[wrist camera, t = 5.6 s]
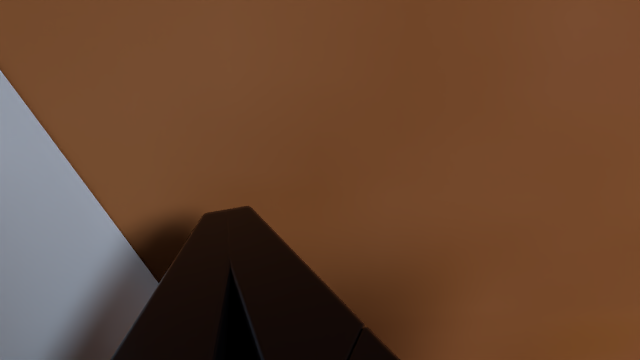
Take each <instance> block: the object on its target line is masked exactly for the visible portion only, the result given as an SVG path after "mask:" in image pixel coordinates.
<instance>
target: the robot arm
mask: <svg viewBox="0 0 640 360" xmlns="http://www.w3.org/2000/svg"><path fill="white" fill-rule="evenodd" d="M110 360H400V359H399V358H398V357H397V356H396V355H395V354H394V353H393V352H392V351H391V350H390V349H389V348H388V347H387V346H386V345H385V344H384V343H383V342H382V341H381V340H380V339H379V338H378V337H377V336H376V335H375V334H374V333H373V332H372V331H371V330H370V329H369V328H368V327H365V325H364V323H363V322H362V321H361V320H360V319H359V318H358V317H357V316H356V315H355V314H354V313H353V312H352V311H351V310H350V309H349V308H348V307H347V306H346V305H345V304H344V302H343V301H342V300H341V299H340V298H339V297H338V296H337V295H336V294H335V293H334V292H333V291H332V290H331V289H330V288H329V287H328V286H327V285H326V284H325V283H324V282H323V281H322V280H321V279H320V278H319V277H318V276H317V275H316V274H315V273H314V272H313V271H312V270H311V269H310V267H309V266H308V265H307V264H306V263H305V262H304V261H303V260H302V259H301V258H300V257H299V256H298V255H297V254H296V253H295V252H294V251H293V250H292V249H291V248H290V247H289V246H288V245H287V244H286V243H285V242H284V241H283V240H282V239H281V238H280V237H279V236H278V235H277V234H276V232H275V231H274V230H273V229H272V228H271V227H270V226H269V225H268V224H267V223H266V222H265V221H264V220H263V219H262V218H261V217H260V216H259V215H258V214H257V213H256V212H255V211H254V210H253V209H252V208H251V207H249V206H244V207H238V208H232V209H227V210H221V211H215V212H209V213H205V214H204V215H203V216H202V217H201V219H200V220H199V222H198V224H197V225H196V227H195V228H194V230H193V231H192V233H191V234H190V236H189V238H188V239H187V241H186V242H185V244H184V245H183V247H182V248H181V250H180V252H179V253H178V255H177V256H176V258H175V259H174V261H173V262H172V264H171V265H170V267H169V269H168V270H167V272H166V273H165V275H164V276H163V278H162V279H161V281H160V283H159V284H158V286H157V287H156V289H155V290H154V292H153V293H152V295H151V297H150V298H149V300H148V301H147V303H146V304H145V306H144V307H143V309H142V311H141V312H140V314H139V315H138V317H137V318H136V320H135V321H134V323H133V325H132V326H131V328H130V329H129V331H128V332H127V334H126V335H125V337H124V339H123V340H122V342H121V343H120V345H119V346H118V348H117V349H116V351H115V353H114V354H113V356H112V357H111V359H110Z"/></svg>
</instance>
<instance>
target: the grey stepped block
mask: <svg viewBox="0 0 640 360" xmlns="http://www.w3.org/2000/svg"><path fill="white" fill-rule="evenodd" d="M158 284H159V283H158V282H157V280H156V279H155V278H154V276H153V275H152V274H151V272H150V271H149V270H148V268H147V267H146V266H145V264H144V263H143V262H142V260H141V259H140V258H139V256H138V255H137V253H136V252H135V251H134V249H133V248H132V247H131V245H130V244H129V243H128V241H127V240H126V239H125V237H124V236H123V235H122V233H121V232H120V231H119V229H118V228H117V227H116V225H115V224H114V223H113V221H112V220H111V219H110V217H109V216H108V214H107V213H106V212H105V210H104V209H103V208H102V206H101V205H100V204H99V202H98V201H97V200H96V198H95V197H94V196H93V194H92V193H91V192H90V190H89V189H88V188H87V186H86V185H85V184H84V182H83V181H82V179H81V178H80V177H79V175H78V174H77V173H76V171H75V170H74V169H73V167H72V166H71V165H70V163H69V162H68V161H67V159H66V158H65V157H64V155H63V154H62V153H61V151H60V150H59V149H58V147H57V146H56V145H55V143H54V142H53V140H52V139H51V138H50V136H49V135H48V134H47V132H46V131H45V130H44V128H43V127H42V126H41V124H40V123H39V122H38V120H37V119H36V118H35V116H34V115H33V114H32V112H31V111H30V110H29V108H28V107H27V105H26V104H25V103H24V101H23V100H22V99H21V97H20V96H19V95H18V93H17V92H16V91H15V89H14V88H13V87H12V85H11V84H10V83H9V81H8V80H7V79H6V77H5V76H4V75H3V73H2V72H1V71H0V360H110V359H111V357H112V356H113V354H114V353H115V351H116V349H117V348H118V346H119V345H120V343H121V342H122V340H123V339H124V337H125V335H126V334H127V332H128V331H129V329H130V328H131V326H132V325H133V323H134V321H135V320H136V318H137V317H138V315H139V314H140V312H141V311H142V309H143V307H144V306H145V304H146V303H147V301H148V300H149V298H150V297H151V295H152V293H153V292H154V290H155V289H156V287H157V286H158Z"/></svg>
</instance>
